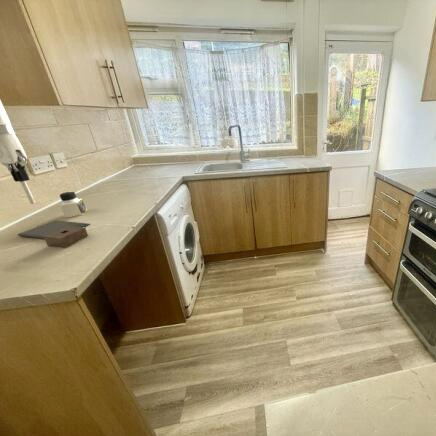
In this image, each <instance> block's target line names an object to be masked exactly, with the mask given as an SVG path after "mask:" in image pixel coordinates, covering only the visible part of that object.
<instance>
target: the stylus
mask: <svg viewBox="0 0 436 436" xmlns="http://www.w3.org/2000/svg"><path fill="white" fill-rule="evenodd" d="M13 168H14V167H13ZM20 184H21V186H22V188H23V190H24V193H25V195H26V197H27V199H28V201H29V203H30V204H31V205H34V204H36V201H35V198H34V196H33V194H32V192H31V189H30V188H29V186H28V184H27V181H23V182H20Z"/></svg>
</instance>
